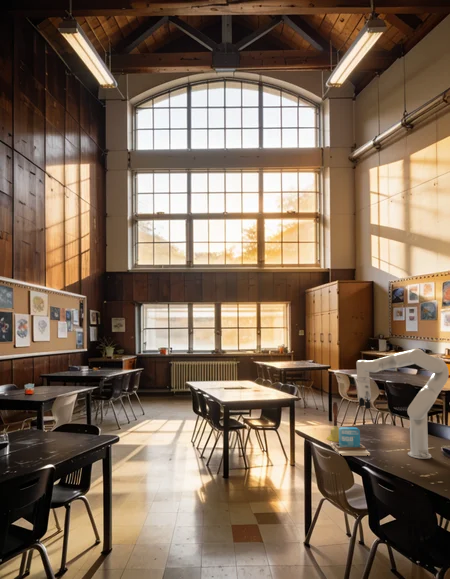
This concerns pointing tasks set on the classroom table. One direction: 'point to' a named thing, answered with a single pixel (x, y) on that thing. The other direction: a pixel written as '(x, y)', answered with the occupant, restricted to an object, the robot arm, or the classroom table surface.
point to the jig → (350, 450)
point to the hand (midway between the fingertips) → (364, 407)
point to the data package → (349, 437)
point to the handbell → (335, 430)
